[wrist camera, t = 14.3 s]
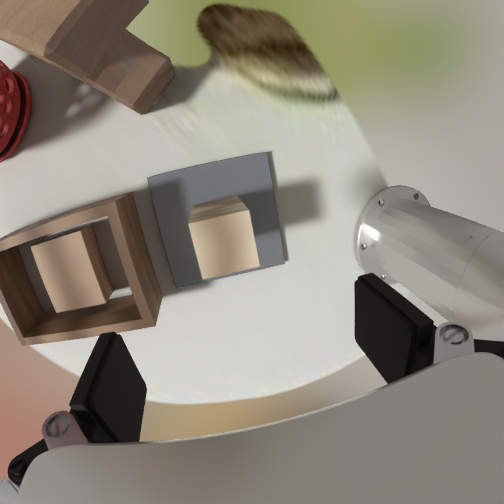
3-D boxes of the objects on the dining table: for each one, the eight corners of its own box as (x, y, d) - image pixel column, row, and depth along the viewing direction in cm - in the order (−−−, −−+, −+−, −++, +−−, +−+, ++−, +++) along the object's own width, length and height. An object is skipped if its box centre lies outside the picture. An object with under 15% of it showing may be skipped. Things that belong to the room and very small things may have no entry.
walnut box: (132, 192, 27) (114, 201, 22) (162, 297, 31) (155, 326, 26) (8, 234, 26) (-20, 249, 20) (41, 320, 30) (22, 345, 24)
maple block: (237, 195, 29) (248, 209, 21) (245, 238, 30) (259, 266, 23) (192, 205, 28) (188, 223, 21) (203, 248, 30) (202, 279, 22)
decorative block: (178, 73, 24) (140, -47, 5) (143, 118, 25) (41, 62, 6) (101, 32, 21) (12, -63, 2) (69, 74, 22) (-53, 17, 3)
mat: (265, 152, 28) (266, 152, 28) (283, 261, 32) (284, 263, 32) (148, 177, 27) (147, 177, 27) (176, 285, 31) (176, 288, 31)
